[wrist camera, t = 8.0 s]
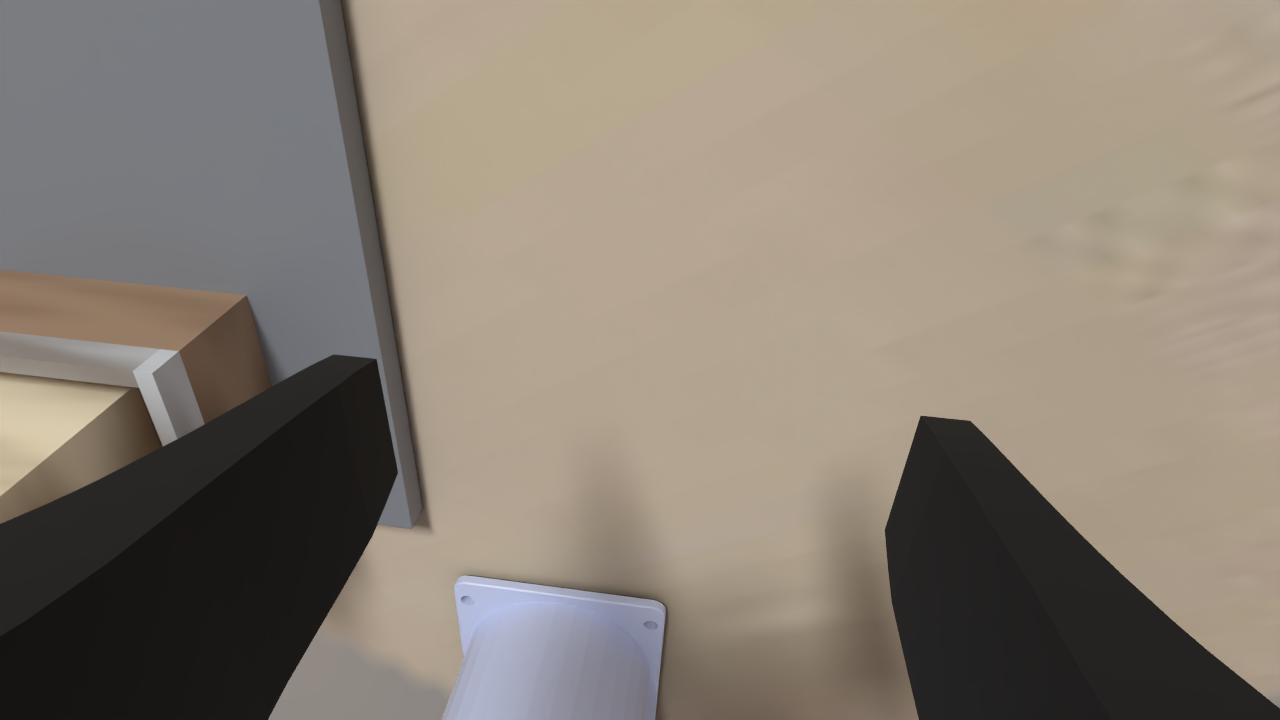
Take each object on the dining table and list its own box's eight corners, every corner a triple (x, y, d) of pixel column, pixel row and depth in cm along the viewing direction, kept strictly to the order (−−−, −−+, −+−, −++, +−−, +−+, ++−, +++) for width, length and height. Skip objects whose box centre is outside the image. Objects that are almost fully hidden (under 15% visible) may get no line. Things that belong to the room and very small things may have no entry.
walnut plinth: (300, 489, 25) (232, 582, 22) (95, 463, 26) (-1, 550, 22) (246, 295, 21) (151, 373, 18) (3, 269, 22) (-133, 341, 18)
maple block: (187, 509, 22) (55, 656, 18) (47, 491, 22) (-115, 633, 18) (135, 384, 19) (-32, 523, 15) (-22, 368, 20) (-227, 498, 16)
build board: (422, 508, 26) (411, 528, 26) (108, 468, 27) (88, 487, 27) (328, -75, 17) (306, -72, 16) (-159, -105, 17) (-204, -104, 17)
